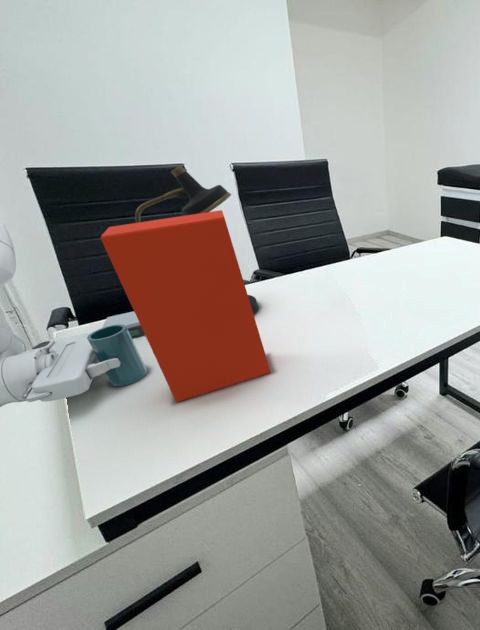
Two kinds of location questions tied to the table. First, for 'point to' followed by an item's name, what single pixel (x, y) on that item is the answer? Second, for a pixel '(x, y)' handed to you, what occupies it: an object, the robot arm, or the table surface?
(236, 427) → the table surface
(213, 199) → the lamp
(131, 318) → the scale
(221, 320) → the file binder
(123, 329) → the cup
